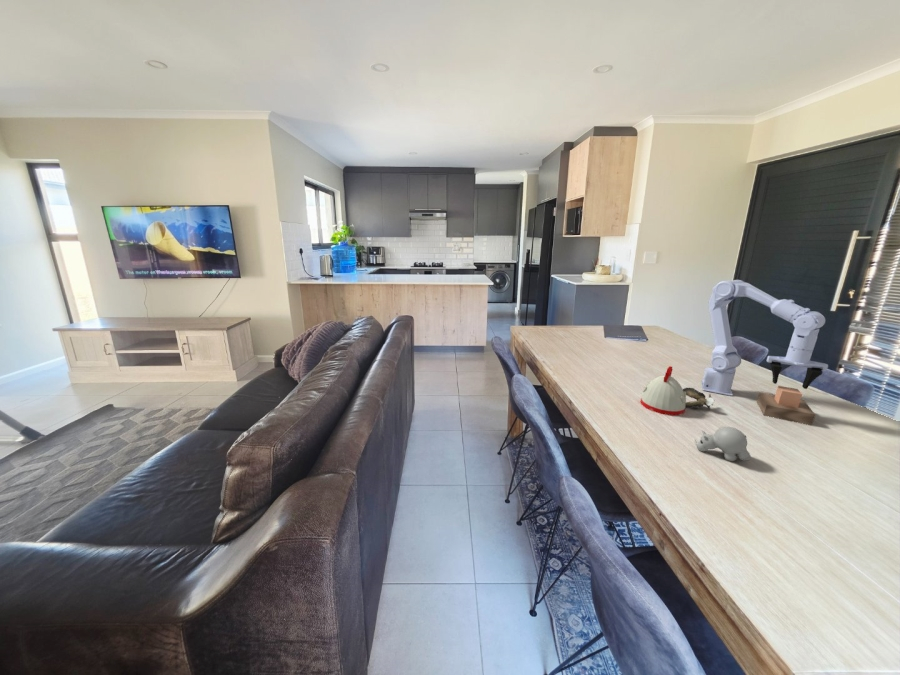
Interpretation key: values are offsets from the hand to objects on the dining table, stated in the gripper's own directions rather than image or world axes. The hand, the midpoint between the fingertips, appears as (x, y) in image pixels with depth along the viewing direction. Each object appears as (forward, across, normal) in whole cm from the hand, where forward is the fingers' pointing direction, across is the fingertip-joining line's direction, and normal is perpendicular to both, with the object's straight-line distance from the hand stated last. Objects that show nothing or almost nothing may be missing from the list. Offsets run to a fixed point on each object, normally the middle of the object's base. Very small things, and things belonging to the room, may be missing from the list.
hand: (789, 385), depth 117 cm
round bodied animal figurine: (+11, -21, -43) cm, 49 cm away
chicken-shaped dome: (+11, -36, -18) cm, 41 cm away
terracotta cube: (+6, 0, -1) cm, 6 cm away
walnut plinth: (+10, 0, -1) cm, 10 cm away
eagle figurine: (+11, -25, -12) cm, 30 cm away
